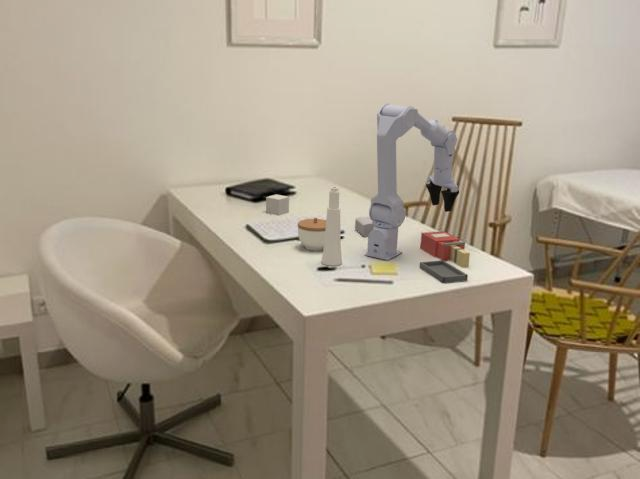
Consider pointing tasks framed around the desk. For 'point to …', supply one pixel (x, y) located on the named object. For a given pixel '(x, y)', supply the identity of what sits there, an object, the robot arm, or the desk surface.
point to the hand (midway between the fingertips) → (441, 208)
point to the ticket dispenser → (439, 244)
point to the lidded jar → (312, 233)
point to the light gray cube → (277, 204)
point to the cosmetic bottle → (332, 231)
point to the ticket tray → (443, 271)
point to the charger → (364, 225)
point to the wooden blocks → (459, 256)
